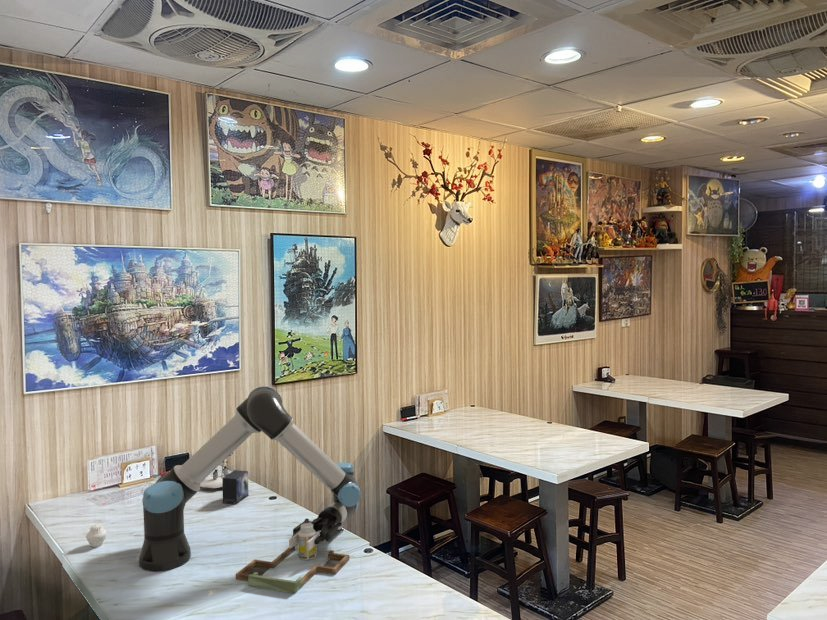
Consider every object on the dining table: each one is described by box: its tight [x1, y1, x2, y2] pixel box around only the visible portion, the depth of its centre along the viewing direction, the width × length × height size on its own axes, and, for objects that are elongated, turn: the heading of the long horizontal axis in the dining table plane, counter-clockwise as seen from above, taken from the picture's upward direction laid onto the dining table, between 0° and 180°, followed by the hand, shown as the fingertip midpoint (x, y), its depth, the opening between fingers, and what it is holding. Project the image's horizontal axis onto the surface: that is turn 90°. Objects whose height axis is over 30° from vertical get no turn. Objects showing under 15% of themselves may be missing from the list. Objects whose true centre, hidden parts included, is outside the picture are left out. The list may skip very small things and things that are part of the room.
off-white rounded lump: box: [85, 524, 108, 548], centre depth 205 cm, size 6×6×7 cm
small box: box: [221, 469, 249, 505], centre depth 246 cm, size 11×6×10 cm, turn 168°
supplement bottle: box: [297, 523, 317, 561], centre depth 193 cm, size 6×6×10 cm
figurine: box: [200, 452, 234, 489], centre depth 266 cm, size 20×18×16 cm
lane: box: [235, 545, 350, 594], centre depth 185 cm, size 25×27×3 cm
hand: (299, 545), depth 188 cm, fingers closed on supplement bottle, 6 cm apart
